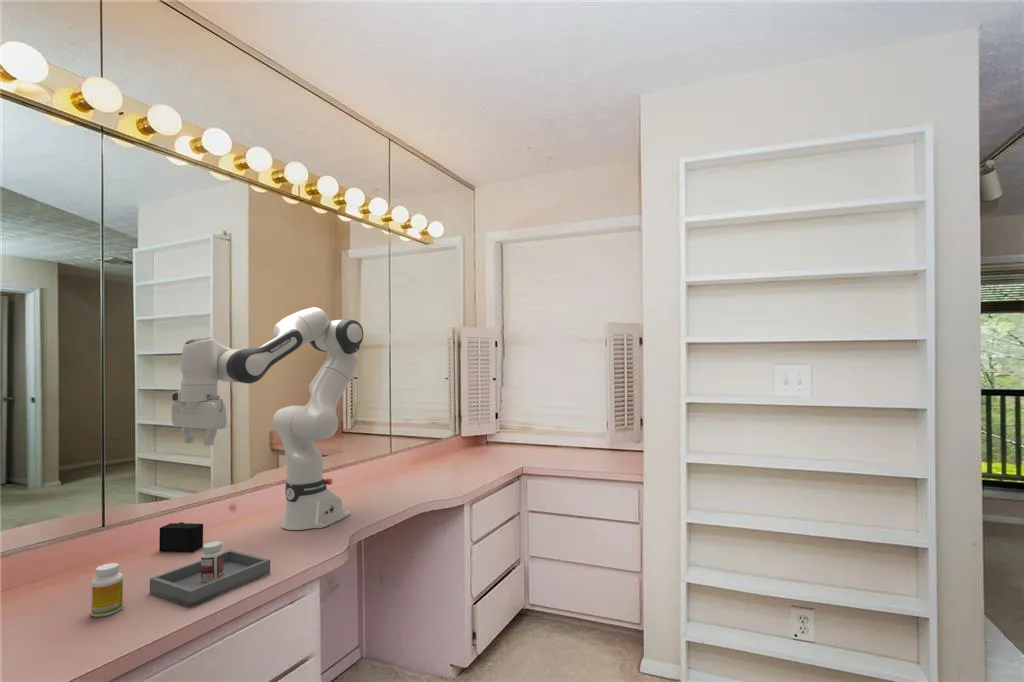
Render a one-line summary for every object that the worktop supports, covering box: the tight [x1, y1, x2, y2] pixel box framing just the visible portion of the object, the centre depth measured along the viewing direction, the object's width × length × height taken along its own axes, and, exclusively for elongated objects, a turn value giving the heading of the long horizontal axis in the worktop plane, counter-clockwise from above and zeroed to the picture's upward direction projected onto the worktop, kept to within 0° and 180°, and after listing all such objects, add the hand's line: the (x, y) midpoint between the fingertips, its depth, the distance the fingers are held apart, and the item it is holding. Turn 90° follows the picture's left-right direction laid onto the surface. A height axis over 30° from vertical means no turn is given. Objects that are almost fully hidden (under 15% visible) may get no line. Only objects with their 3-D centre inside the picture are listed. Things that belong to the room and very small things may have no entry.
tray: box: [149, 549, 271, 608], centre depth 125 cm, size 20×16×4 cm
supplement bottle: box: [90, 562, 124, 618], centre depth 111 cm, size 5×5×10 cm
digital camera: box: [158, 522, 204, 553], centre depth 149 cm, size 10×5×7 cm, turn 85°
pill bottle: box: [200, 540, 224, 583], centre depth 125 cm, size 5×5×8 cm
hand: (198, 444), depth 143 cm, fingers open, 8 cm apart
